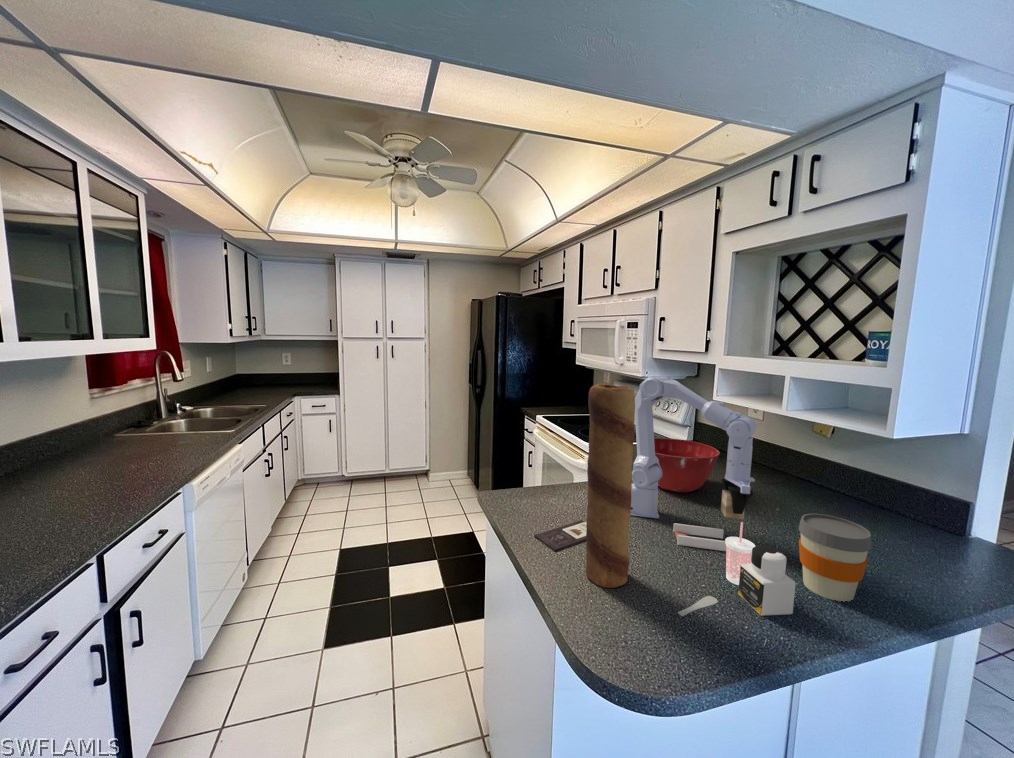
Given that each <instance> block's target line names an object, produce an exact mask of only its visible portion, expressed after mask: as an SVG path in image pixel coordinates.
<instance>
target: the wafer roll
mask: <svg viewBox="0 0 1014 758" xmlns="http://www.w3.org/2000/svg"><path fill="white" fill-rule="evenodd" d="M635 394H636V393H635V390H634V388H633V387H632V386H628V385H618V386H617V385H615V384H609V383H597V384H595V385H592V386H591V387H590V388H589V391H588V399H587V400H588V402H587V404H588V410H589V411H588V412H589V431H588V437H589V438H588V457H587V469H586V470H587V474H586V475H587V509H586V511H587V512H586V514H587V515H586V523H587V531H586V541H585V542H586V548H585V549H586V556H585V557H586V559H585V560H586V561H585V562H586V564H585V565H586V567H585V574H586V578H587V579H588V580H589V581H591V582H592V583H593V584H594V585H596V586H599V587H600V588H604V589H615V588H619V587H621V586H624V585H626V583H627V582H628V577H629V575H628V574H629V573H628V572H629V566H630V553H629V551H630V550H629V546H630V541H629V540H630V538H629V534H630V520H631V516H632V515H631V490H632V484H633V481H632V471H633V467H632V466H633V451H634V439H635V436H636V429H635V398H636V395H635Z"/></svg>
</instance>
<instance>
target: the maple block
mask: <svg viewBox="0 0 1014 758" xmlns="http://www.w3.org/2000/svg"><path fill="white" fill-rule="evenodd" d="M720 503H721V505H720V512H721V514H723V516H724V518H726V519H727V518H729V519H736V520H737V519H738V520H745V518H744V517H745V511H744V512H743V514H734V513H733V509H732V498H731V494H730V491H729V490H725V489H722V490H721V502H720Z"/></svg>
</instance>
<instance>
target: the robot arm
mask: <svg viewBox="0 0 1014 758" xmlns="http://www.w3.org/2000/svg"><path fill="white" fill-rule="evenodd" d="M663 398H677V399H679V400H680V401H681V402H684V403H685V404H687V405H689V406H692V407H693V408H695V409H697V410H698V411H700V412H701V414H702V417H703V419H705V420H706V421H709V422H710V423H712V424H713V425H715V426H717V427H718V428H720V429H721V430H722V431H725V433H726V435H727V436H728V443H727V452H726V453H727V454H726V455H727V456H726V466H725V474H724V478H721V482H722V483H723V486H724V490H729V491H730V494H731V498H732V509H733V513H734V514H743V512H744V513H745V509H746V506H747V504H748V502H749V500H750V499H751V497H753V496H754V491H753V490H752V489H751V486H750V485H751V483H755V482H756V479H755V478H754V477H751V469H752V468H751V467H752V460H753V459H752V458H753V448H754V447H753V443H754V442H753V440H754V437H753V435H755V434H756V432H757V424H756V422H755V421H754V420H753V419H752V418H751V417H750V416H748V415H742V413H741V412H739V411H734V410H732V409H731V408H729V407H727V406H725V402H723V401H721V400H719V401H717V400H711V401H708V400H707V399H705V398H703V397H702V396H700V394H697V393H695V392H694V391H693V390H692V389H690V388H688V387H687V386H685V385H683V384H682V383H680V382H679V381H678V380H676V379H672V378H671V377H669V376H667V375H660V376H654V377H653V376H652V377H647V378H646V379H645V380H643V381H642V382H641V383H640V384H639V389H638V392H637V393H636V395H635V422H634V426H635V437H636V438H635V439H636V458H635V460H634V461H633V462H632V466H633V467H632V490H631V515H630V516H635V517H636V516H637V517H642V518H643V517H644V518H650V519H651V518H653V519H660V514H659V512H658V496H659V487H658V480H660V479H661V477H662V469H661V467H660V465H659V459H658V458H657V457H656V456H655V445H654V438H655V431H654V413H653V412H654V410H653V406H654V405H655V404H656V403H657V402H658V401H660V400H661V399H663Z"/></svg>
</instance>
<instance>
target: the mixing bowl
mask: <svg viewBox="0 0 1014 758" xmlns="http://www.w3.org/2000/svg"><path fill="white" fill-rule="evenodd" d="M654 445H655V456H656V457H657V458H658V459H659V465H660V467H661V469H662V477H661V479H660V480H658V486H659V487H658V488H660V489H663V490H666V491H669V492H673V493H674V492H675V493H690V492H693V491H695V490H698V489H699V488H701V487H702V486H703V485H704V483H706V481H707V479H708V478H709V477H710V475H711V473H712V471H713V469H714V467H715V465H716V462H717V460H718V458H719V457H718V456H720V455H721V454H720V451H719V449H717V448H715V447H713V446H711V445H708V444H704V443H701V442H697V441H692V440H687V439H680V438H668V437H667V438H666V437H654Z"/></svg>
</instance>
